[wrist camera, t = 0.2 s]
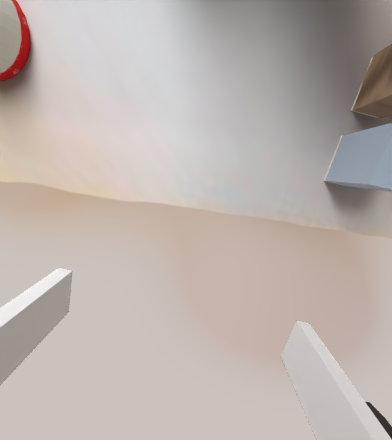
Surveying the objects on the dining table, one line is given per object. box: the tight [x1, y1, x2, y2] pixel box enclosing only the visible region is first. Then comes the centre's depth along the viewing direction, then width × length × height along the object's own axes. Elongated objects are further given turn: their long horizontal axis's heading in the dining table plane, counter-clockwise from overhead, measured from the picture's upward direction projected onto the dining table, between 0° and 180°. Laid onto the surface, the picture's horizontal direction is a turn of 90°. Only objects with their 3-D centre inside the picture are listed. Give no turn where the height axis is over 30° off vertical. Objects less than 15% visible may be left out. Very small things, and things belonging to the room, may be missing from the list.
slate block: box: [324, 123, 392, 191], centre depth 30 cm, size 8×5×10 cm, turn 167°
